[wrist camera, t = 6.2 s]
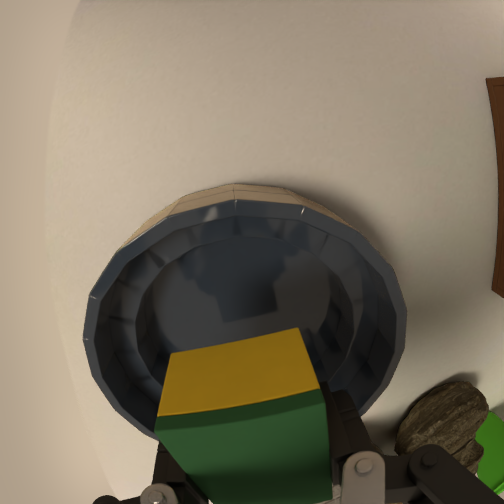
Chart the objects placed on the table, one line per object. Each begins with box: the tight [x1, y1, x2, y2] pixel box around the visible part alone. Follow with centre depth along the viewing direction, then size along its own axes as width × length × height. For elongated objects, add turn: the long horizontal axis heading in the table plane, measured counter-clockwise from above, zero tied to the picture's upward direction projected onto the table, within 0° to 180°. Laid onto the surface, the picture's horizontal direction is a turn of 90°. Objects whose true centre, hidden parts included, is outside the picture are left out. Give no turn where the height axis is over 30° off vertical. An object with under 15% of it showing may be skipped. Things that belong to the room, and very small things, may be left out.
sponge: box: [154, 328, 333, 504], centre depth 10 cm, size 7×4×4 cm, turn 13°
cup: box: [475, 412, 504, 495], centre depth 22 cm, size 9×9×11 cm
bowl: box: [83, 184, 407, 441], centre depth 15 cm, size 15×15×5 cm
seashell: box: [394, 381, 489, 475], centre depth 19 cm, size 11×12×10 cm
